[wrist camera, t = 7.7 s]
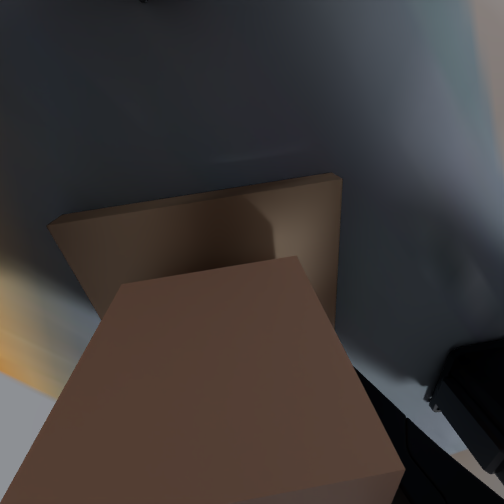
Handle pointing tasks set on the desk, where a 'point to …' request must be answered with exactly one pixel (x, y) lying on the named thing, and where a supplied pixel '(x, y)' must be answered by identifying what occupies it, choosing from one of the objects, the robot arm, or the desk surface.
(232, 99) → the desk surface
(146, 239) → the pin board
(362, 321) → the desk surface
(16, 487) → the collar
